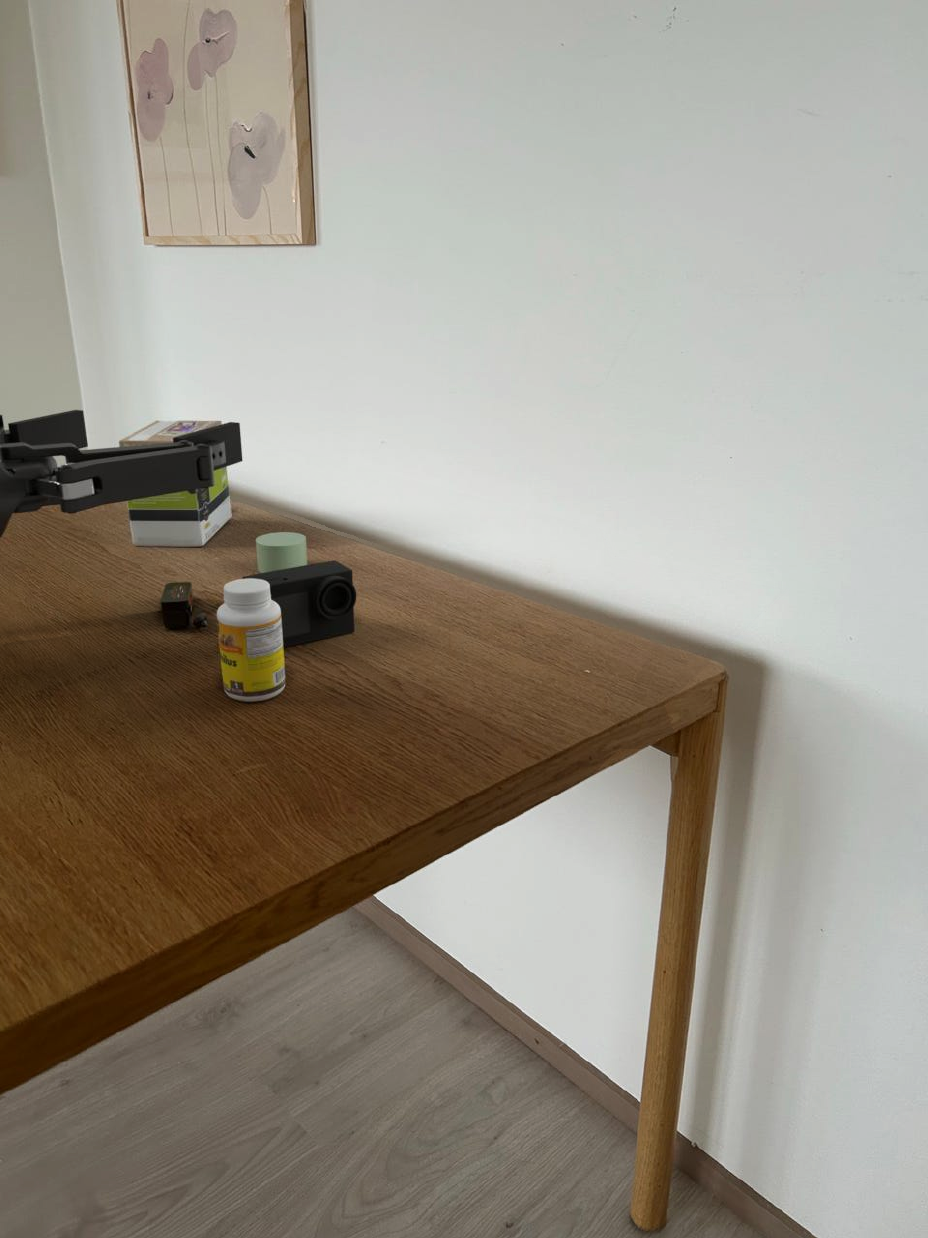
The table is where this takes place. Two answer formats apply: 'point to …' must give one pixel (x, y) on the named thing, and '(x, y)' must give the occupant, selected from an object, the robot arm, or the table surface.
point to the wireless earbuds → (180, 607)
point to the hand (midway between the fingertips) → (157, 434)
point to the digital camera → (312, 600)
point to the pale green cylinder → (280, 551)
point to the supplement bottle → (251, 641)
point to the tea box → (177, 498)
